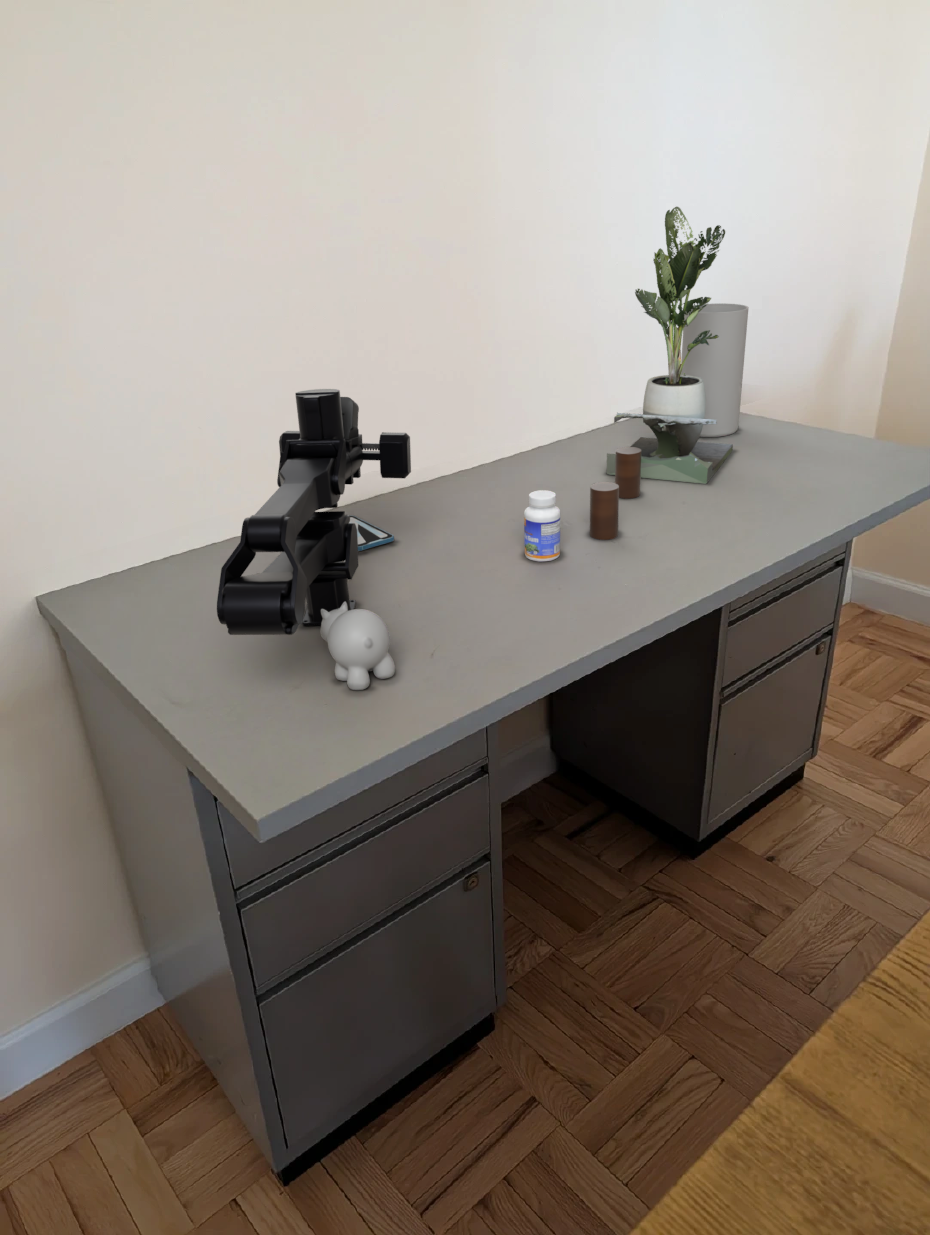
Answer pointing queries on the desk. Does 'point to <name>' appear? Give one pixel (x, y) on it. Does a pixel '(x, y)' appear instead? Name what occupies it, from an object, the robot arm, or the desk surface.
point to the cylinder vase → (718, 363)
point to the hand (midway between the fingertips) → (359, 443)
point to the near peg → (604, 510)
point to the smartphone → (369, 534)
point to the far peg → (628, 471)
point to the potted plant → (677, 369)
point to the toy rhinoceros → (357, 645)
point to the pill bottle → (542, 527)
